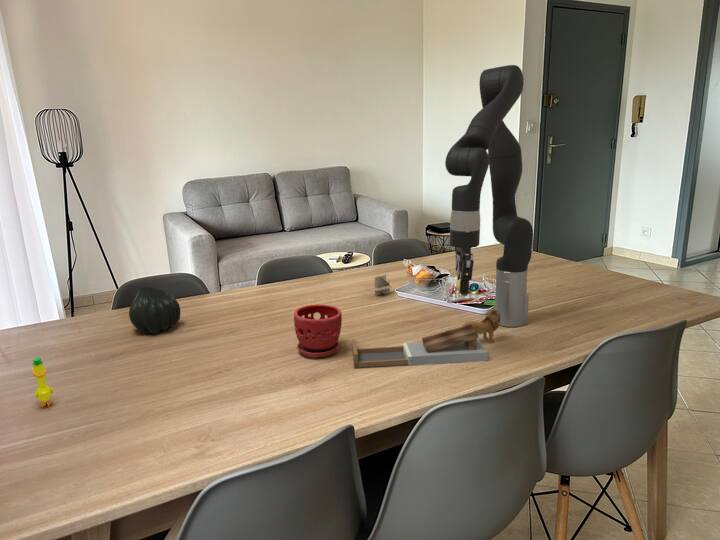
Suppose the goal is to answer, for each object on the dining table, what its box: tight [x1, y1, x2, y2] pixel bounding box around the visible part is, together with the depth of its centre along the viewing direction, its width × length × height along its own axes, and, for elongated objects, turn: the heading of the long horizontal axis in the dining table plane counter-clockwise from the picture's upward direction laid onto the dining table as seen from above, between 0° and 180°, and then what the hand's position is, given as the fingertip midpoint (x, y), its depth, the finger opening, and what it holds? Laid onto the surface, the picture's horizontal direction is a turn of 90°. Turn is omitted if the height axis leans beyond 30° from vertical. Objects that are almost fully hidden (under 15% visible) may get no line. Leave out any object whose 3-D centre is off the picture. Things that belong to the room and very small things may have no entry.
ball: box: [455, 280, 460, 293], centre depth 143 cm, size 4×4×4 cm
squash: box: [128, 286, 181, 334], centre depth 172 cm, size 14×15×15 cm
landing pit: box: [351, 340, 409, 370], centre depth 145 cm, size 14×9×4 cm, turn 94°
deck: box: [402, 338, 488, 366], centre depth 146 cm, size 21×9×2 cm, turn 94°
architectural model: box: [372, 274, 393, 296], centre depth 199 cm, size 3×7×7 cm, turn 129°
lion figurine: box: [462, 308, 501, 344], centre depth 154 cm, size 15×5×9 cm, turn 116°
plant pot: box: [293, 304, 343, 358], centre depth 151 cm, size 13×13×12 cm
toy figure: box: [31, 357, 54, 407], centre depth 126 cm, size 7×4×12 cm, turn 38°
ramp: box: [421, 324, 480, 353], centre depth 145 cm, size 14×6×5 cm, turn 94°
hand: (462, 291), depth 143 cm, fingers closed on ball, 3 cm apart
